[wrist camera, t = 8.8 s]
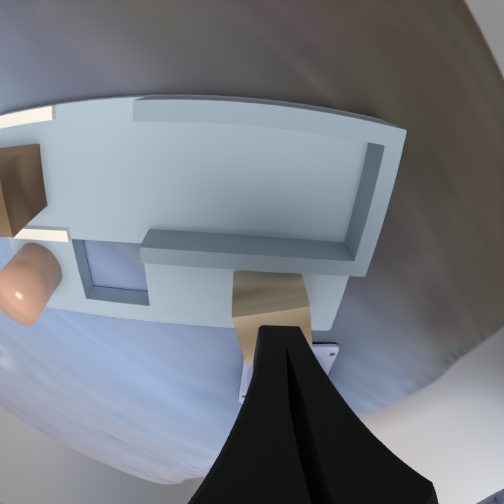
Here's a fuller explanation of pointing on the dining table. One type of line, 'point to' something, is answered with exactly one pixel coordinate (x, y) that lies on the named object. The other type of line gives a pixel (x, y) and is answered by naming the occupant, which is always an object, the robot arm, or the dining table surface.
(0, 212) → the walnut block
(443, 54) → the dining table surface
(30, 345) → the dining table surface
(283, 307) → the beech block
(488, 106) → the dining table surface
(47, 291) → the peach rounded cylinder
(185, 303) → the slate board with cubby
